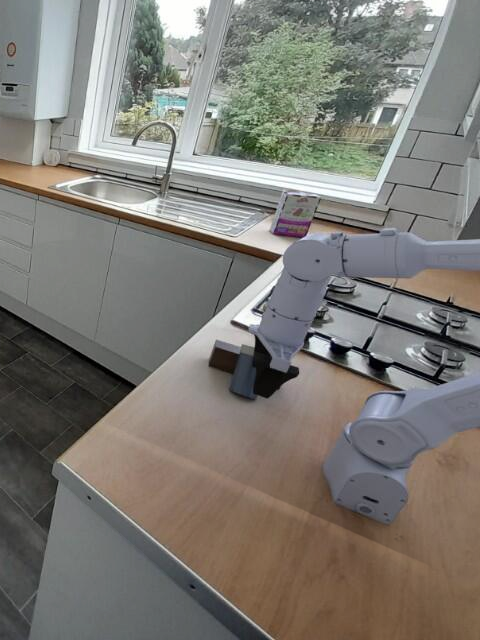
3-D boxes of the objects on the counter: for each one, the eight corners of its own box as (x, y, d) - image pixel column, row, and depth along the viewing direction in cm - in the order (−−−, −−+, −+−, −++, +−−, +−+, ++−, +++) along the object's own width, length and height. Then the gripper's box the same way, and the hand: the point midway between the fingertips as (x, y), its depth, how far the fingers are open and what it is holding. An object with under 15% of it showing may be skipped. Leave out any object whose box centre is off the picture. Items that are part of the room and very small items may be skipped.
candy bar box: (300, 234, 161) (316, 193, 154) (305, 238, 157) (322, 197, 150) (268, 230, 164) (282, 190, 157) (272, 234, 160) (287, 193, 153)
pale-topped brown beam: (277, 394, 78) (288, 369, 75) (206, 370, 83) (215, 346, 81) (276, 385, 80) (287, 361, 78) (207, 362, 86) (216, 339, 83)
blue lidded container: (254, 410, 74) (274, 365, 70) (227, 400, 76) (244, 356, 72) (253, 384, 80) (271, 342, 76) (227, 375, 82) (243, 334, 78)
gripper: (258, 284, 69) (233, 349, 75) (260, 324, 58) (230, 397, 63) (309, 297, 66) (279, 364, 71) (322, 341, 54) (285, 417, 60)
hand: (259, 381), depth 67 cm, fingers open, 7 cm apart
